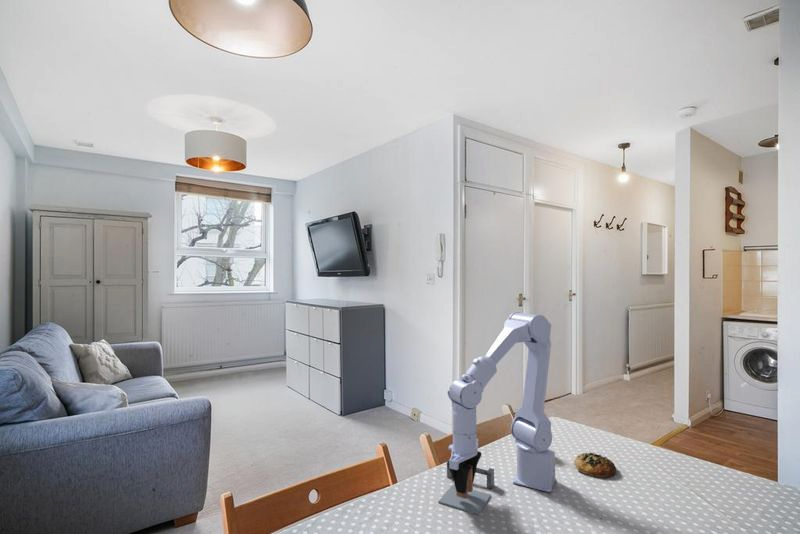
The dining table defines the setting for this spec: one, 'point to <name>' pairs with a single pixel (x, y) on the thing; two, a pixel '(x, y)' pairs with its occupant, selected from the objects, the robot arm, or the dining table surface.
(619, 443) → the dining table surface
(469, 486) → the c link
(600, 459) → the bread roll
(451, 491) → the mat
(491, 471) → the bar stand
